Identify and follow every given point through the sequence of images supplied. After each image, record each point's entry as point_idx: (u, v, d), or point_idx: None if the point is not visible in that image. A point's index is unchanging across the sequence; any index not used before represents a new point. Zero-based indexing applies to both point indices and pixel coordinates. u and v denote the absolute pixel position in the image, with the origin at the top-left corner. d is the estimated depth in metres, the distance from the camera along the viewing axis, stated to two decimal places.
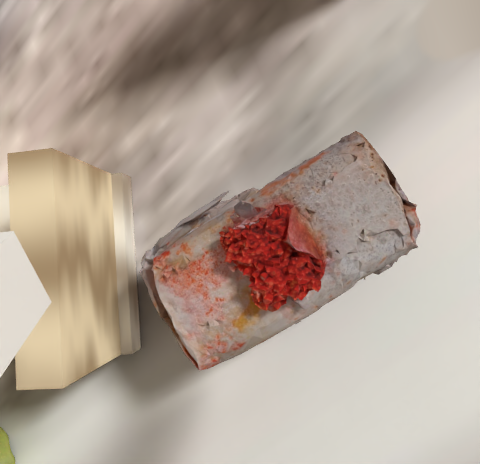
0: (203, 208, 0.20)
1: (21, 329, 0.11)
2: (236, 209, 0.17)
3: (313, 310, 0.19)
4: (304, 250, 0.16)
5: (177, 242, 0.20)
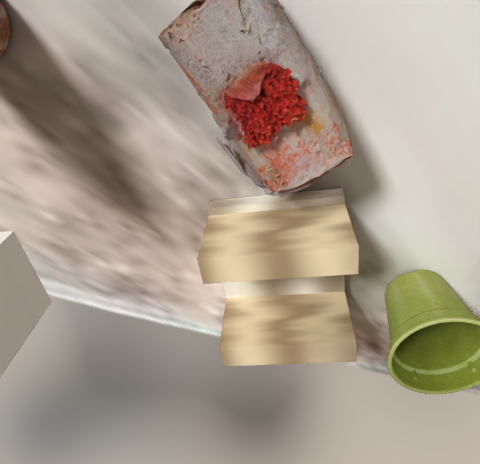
0: (231, 156, 0.26)
1: (21, 329, 0.11)
2: (231, 138, 0.23)
3: (309, 64, 0.23)
4: (259, 86, 0.21)
5: (257, 174, 0.27)
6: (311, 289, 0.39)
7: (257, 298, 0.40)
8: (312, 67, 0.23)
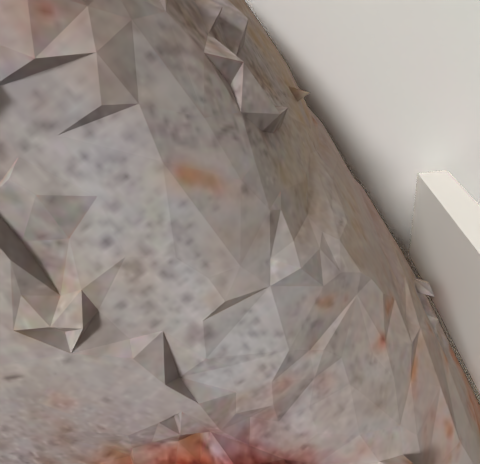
0: None
1: None
2: None
3: (423, 361, 0.05)
4: None
5: None
6: None
7: None
8: (433, 366, 0.05)
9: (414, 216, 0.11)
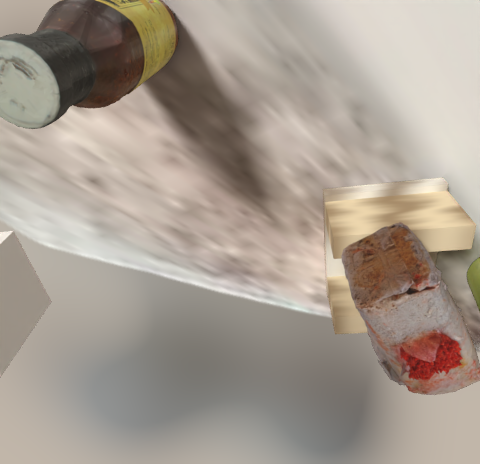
0: (385, 370, 0.33)
1: (21, 329, 0.11)
2: (400, 376, 0.30)
3: (462, 322, 0.30)
4: (434, 354, 0.29)
5: (402, 380, 0.34)
6: None
7: None
8: (463, 324, 0.31)
9: None
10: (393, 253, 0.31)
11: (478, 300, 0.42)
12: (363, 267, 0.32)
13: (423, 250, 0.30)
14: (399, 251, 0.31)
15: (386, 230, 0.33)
